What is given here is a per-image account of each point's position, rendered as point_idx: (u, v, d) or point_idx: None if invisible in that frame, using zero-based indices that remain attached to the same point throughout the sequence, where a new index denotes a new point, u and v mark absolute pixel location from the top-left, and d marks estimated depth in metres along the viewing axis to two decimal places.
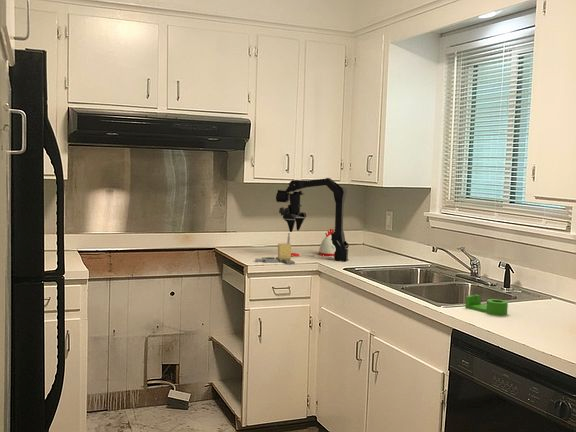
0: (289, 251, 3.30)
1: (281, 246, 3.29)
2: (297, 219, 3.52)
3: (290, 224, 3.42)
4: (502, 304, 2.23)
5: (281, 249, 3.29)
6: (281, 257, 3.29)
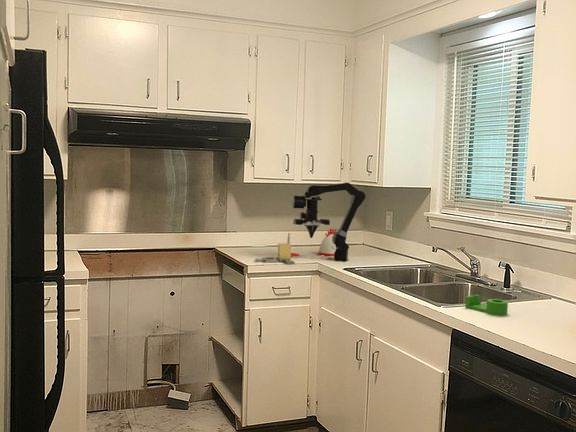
0: (289, 251, 3.30)
1: (281, 246, 3.29)
2: (312, 226, 3.37)
3: (309, 230, 3.36)
4: (502, 304, 2.23)
5: (281, 249, 3.29)
6: (281, 257, 3.29)
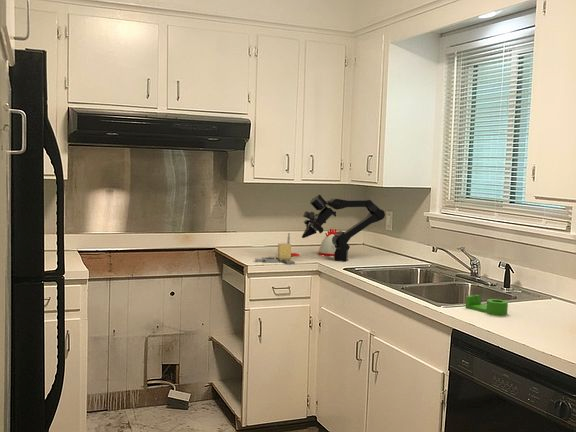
0: (289, 251, 3.30)
1: (281, 246, 3.29)
2: None
3: (308, 232, 3.33)
4: (502, 304, 2.23)
5: (281, 249, 3.29)
6: (281, 257, 3.29)
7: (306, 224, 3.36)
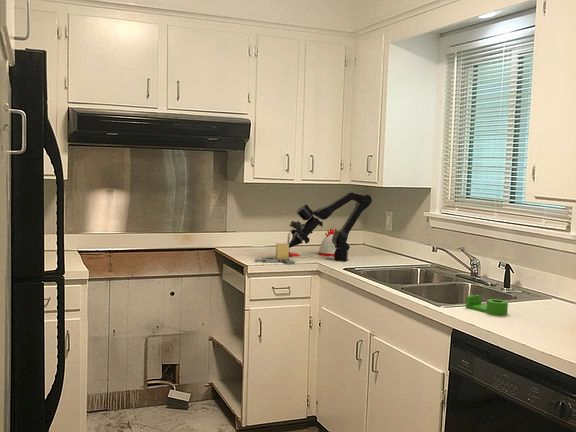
0: (287, 251, 3.30)
1: (279, 246, 3.28)
2: None
3: (294, 242, 3.31)
4: (502, 304, 2.23)
5: (279, 249, 3.29)
6: (279, 257, 3.29)
7: (292, 234, 3.34)
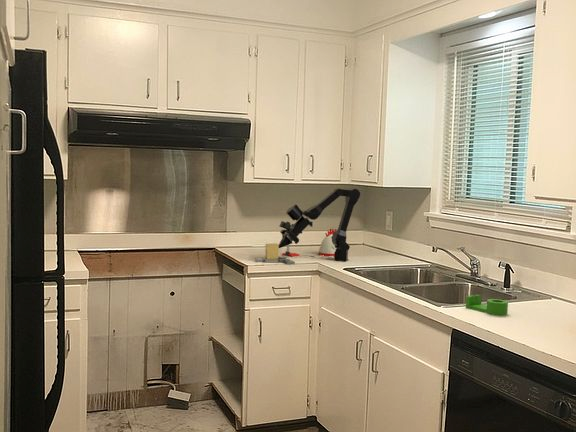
0: (277, 251, 3.28)
1: (268, 246, 3.27)
2: None
3: (284, 242, 3.30)
4: (502, 304, 2.23)
5: (268, 249, 3.27)
6: (268, 257, 3.27)
7: (282, 234, 3.33)
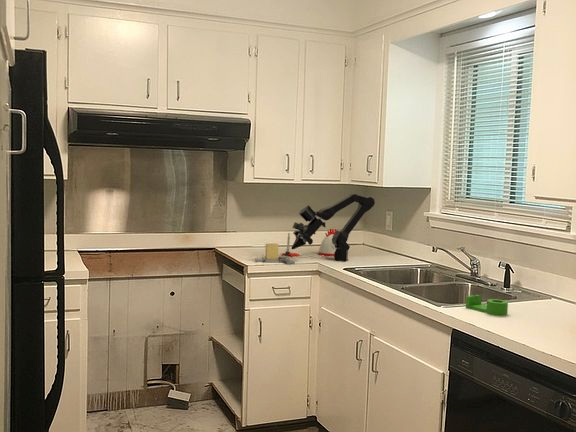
0: (277, 251, 3.28)
1: (268, 246, 3.27)
2: None
3: (298, 243, 3.32)
4: (502, 304, 2.23)
5: (268, 249, 3.27)
6: (268, 257, 3.27)
7: (295, 235, 3.34)
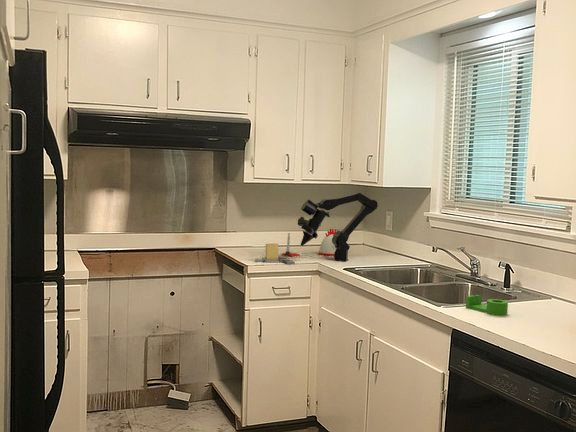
0: (277, 251, 3.28)
1: (268, 246, 3.27)
2: None
3: (305, 238, 3.33)
4: (502, 304, 2.23)
5: (268, 249, 3.27)
6: (268, 257, 3.27)
7: None
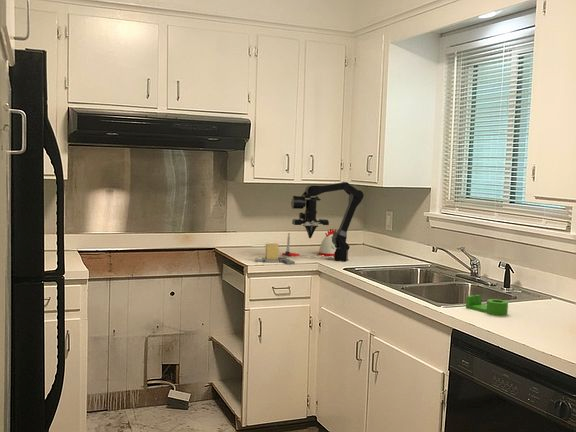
0: (277, 251, 3.28)
1: (268, 246, 3.27)
2: (311, 226, 3.35)
3: (307, 230, 3.34)
4: (502, 304, 2.23)
5: (268, 249, 3.27)
6: (268, 257, 3.27)
7: (312, 225, 3.38)
